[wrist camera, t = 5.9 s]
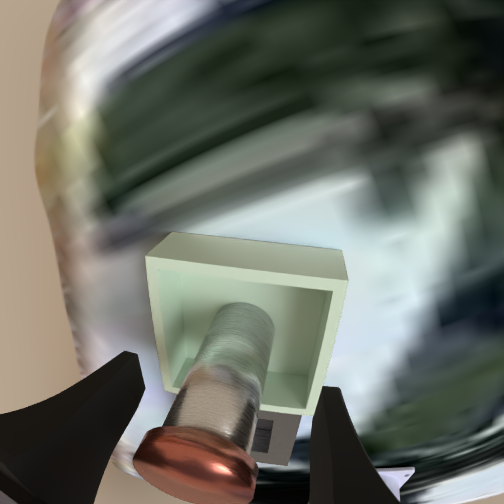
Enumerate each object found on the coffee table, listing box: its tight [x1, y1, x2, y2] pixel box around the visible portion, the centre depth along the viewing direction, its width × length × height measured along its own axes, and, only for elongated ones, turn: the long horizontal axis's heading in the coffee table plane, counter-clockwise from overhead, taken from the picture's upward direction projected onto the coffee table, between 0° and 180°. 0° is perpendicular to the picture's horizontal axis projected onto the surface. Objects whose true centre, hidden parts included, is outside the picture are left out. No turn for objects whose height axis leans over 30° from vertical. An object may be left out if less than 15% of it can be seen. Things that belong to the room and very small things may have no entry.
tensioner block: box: [250, 410, 302, 466], centre depth 19 cm, size 7×7×2 cm
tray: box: [145, 232, 348, 416], centre depth 15 cm, size 8×8×3 cm
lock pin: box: [133, 302, 275, 504], centre depth 12 cm, size 4×4×9 cm
